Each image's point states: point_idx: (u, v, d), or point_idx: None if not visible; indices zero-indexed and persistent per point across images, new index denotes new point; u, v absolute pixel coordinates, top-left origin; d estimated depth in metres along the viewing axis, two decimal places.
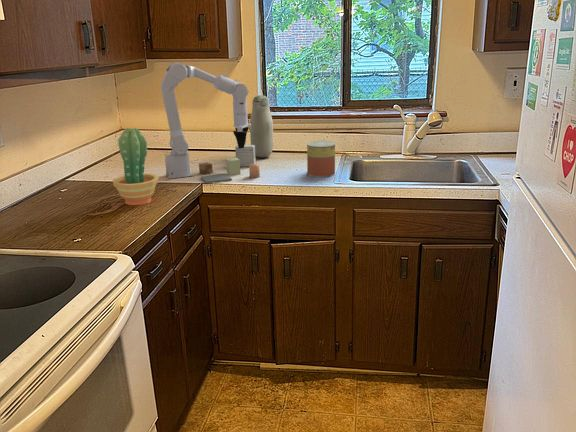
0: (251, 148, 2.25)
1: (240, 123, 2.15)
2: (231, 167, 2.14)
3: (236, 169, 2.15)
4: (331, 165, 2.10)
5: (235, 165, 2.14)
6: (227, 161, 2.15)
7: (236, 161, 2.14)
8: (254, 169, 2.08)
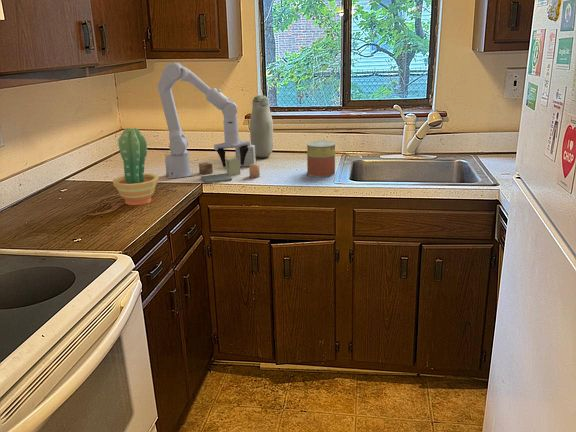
0: (251, 148, 2.25)
1: (225, 142, 2.12)
2: (231, 167, 2.14)
3: (236, 169, 2.15)
4: (331, 165, 2.10)
5: (235, 165, 2.14)
6: (227, 161, 2.15)
7: (236, 161, 2.14)
8: (254, 169, 2.08)
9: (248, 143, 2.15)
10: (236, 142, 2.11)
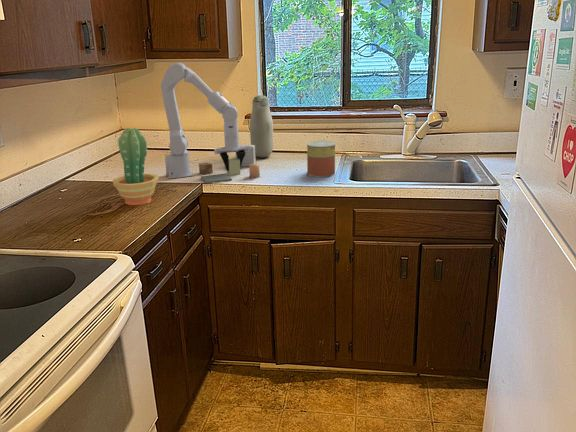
0: (251, 148, 2.25)
1: (225, 146, 2.12)
2: (231, 167, 2.14)
3: (236, 169, 2.15)
4: (331, 165, 2.10)
5: (235, 165, 2.14)
6: None
7: (236, 161, 2.14)
8: (254, 169, 2.08)
9: (248, 147, 2.15)
10: (236, 146, 2.12)
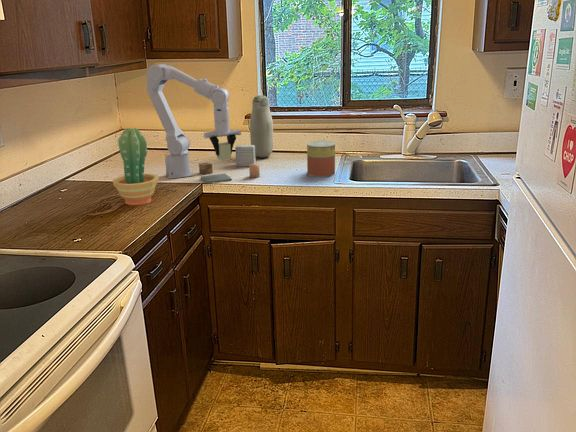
0: (251, 148, 2.25)
1: (215, 130, 2.06)
2: (221, 151, 2.07)
3: (226, 154, 2.08)
4: (331, 165, 2.10)
5: (225, 150, 2.08)
6: None
7: (226, 145, 2.07)
8: (254, 169, 2.08)
9: (239, 132, 2.09)
10: (227, 130, 2.05)
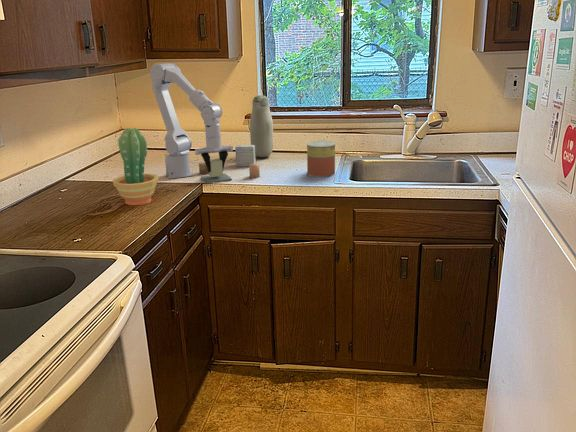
0: (251, 148, 2.25)
1: (206, 146, 2.03)
2: (213, 168, 2.04)
3: (218, 170, 2.06)
4: (331, 165, 2.10)
5: (217, 166, 2.05)
6: None
7: (218, 162, 2.05)
8: (254, 169, 2.08)
9: (231, 148, 2.06)
10: (218, 147, 2.03)
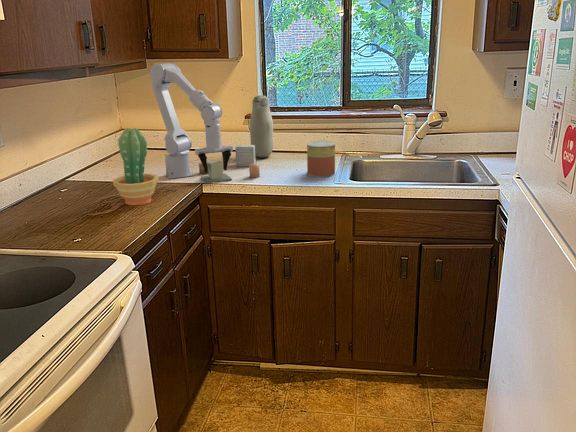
0: (251, 148, 2.25)
1: (206, 146, 2.03)
2: (213, 170, 2.05)
3: (218, 173, 2.06)
4: (331, 165, 2.10)
5: (217, 169, 2.05)
6: (209, 164, 2.06)
7: (218, 164, 2.05)
8: (254, 169, 2.08)
9: (231, 148, 2.06)
10: (218, 147, 2.03)
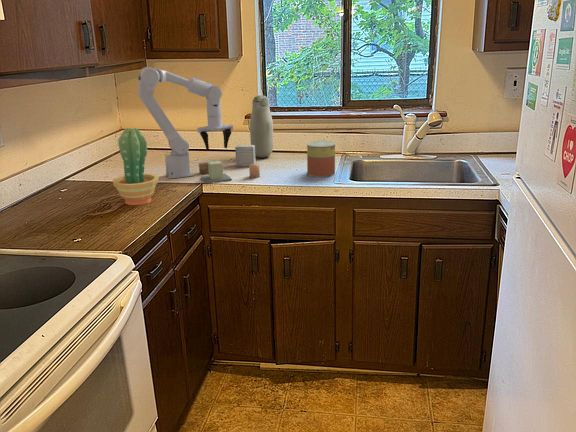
0: (251, 148, 2.25)
1: (208, 125, 2.14)
2: (213, 170, 2.05)
3: (218, 173, 2.06)
4: (331, 165, 2.10)
5: (217, 169, 2.05)
6: (209, 164, 2.06)
7: (218, 164, 2.05)
8: (254, 169, 2.08)
9: (231, 126, 2.17)
10: (219, 125, 2.13)
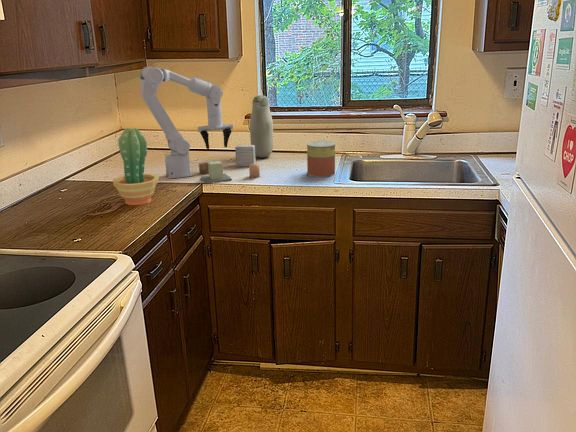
0: (251, 148, 2.25)
1: (208, 124, 2.16)
2: (213, 170, 2.05)
3: (218, 173, 2.06)
4: (331, 165, 2.10)
5: (217, 169, 2.05)
6: (209, 164, 2.06)
7: (218, 164, 2.05)
8: (254, 169, 2.08)
9: (231, 126, 2.19)
10: (219, 124, 2.16)
